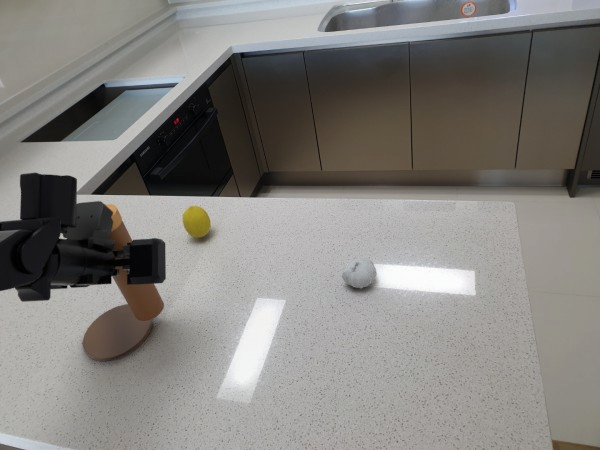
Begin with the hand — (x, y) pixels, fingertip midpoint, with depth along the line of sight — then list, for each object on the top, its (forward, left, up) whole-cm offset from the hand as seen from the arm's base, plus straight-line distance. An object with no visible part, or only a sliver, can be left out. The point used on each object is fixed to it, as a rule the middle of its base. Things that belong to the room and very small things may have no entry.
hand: (133, 266), depth 73 cm
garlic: (+29, -21, -13) cm, 38 cm away
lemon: (+18, +15, -13) cm, 27 cm away
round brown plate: (-7, +4, -13) cm, 15 cm away
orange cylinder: (-1, -1, -9) cm, 9 cm away
